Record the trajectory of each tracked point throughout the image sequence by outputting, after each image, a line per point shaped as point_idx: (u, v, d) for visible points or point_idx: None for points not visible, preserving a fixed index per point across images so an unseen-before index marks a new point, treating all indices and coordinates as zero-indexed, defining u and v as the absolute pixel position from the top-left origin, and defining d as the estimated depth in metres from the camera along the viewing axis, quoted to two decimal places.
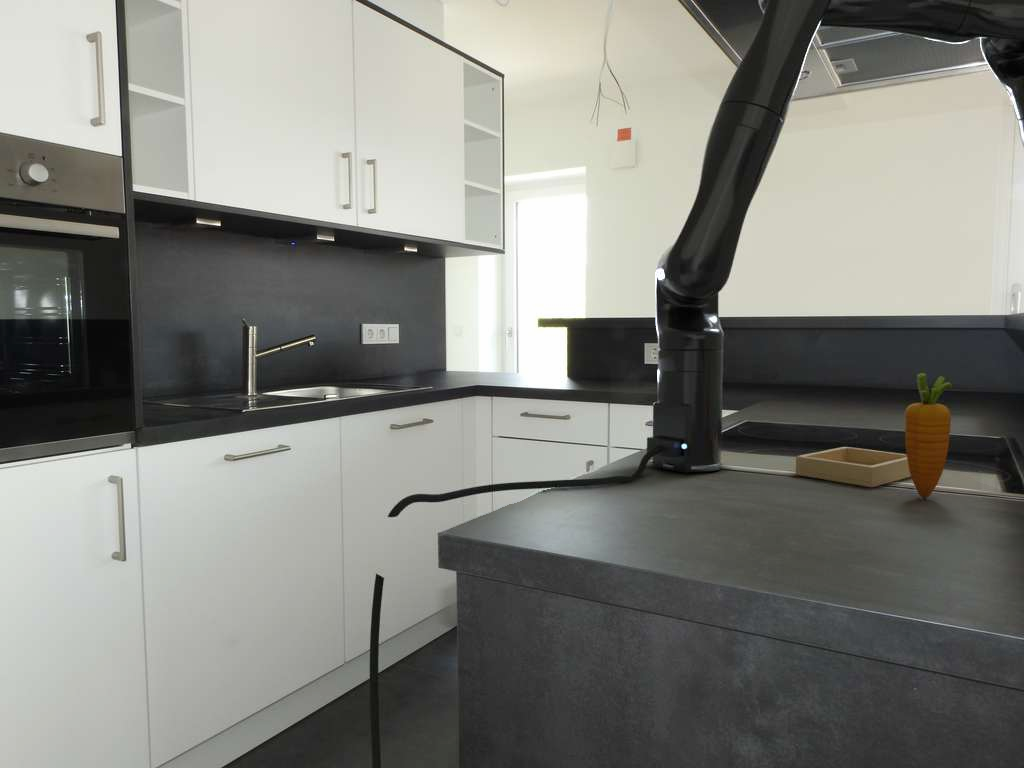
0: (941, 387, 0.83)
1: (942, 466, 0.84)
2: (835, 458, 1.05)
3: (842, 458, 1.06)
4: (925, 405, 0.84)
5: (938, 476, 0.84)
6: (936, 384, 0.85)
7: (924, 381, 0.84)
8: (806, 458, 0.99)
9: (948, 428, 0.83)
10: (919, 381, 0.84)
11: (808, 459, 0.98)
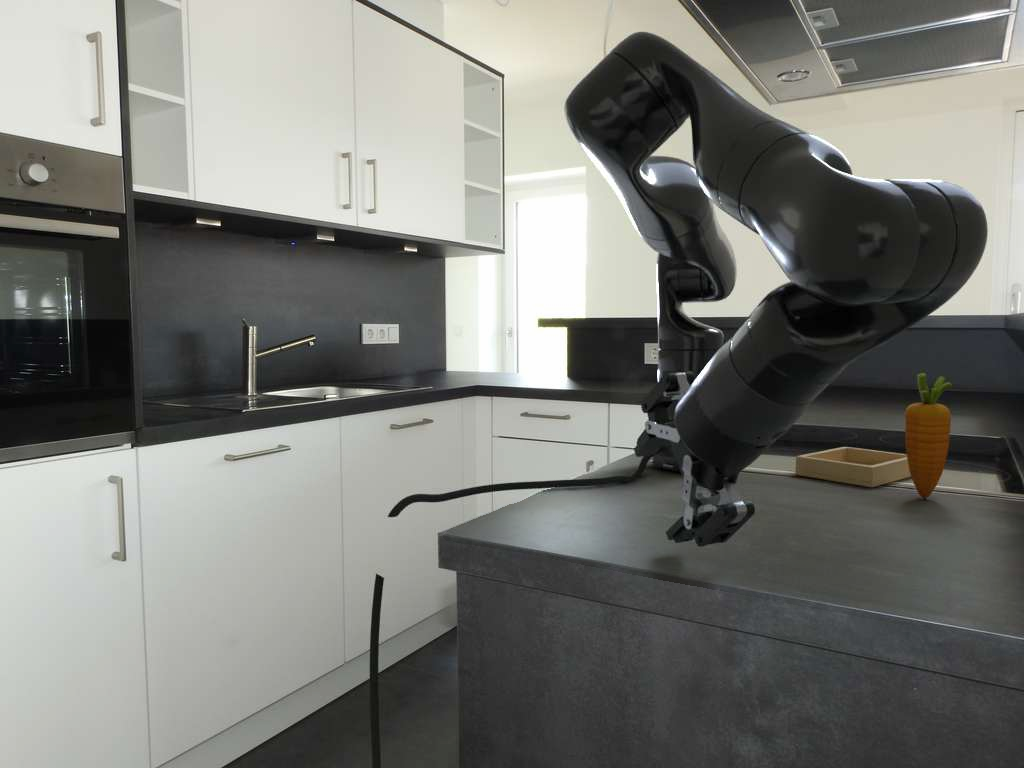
0: (941, 387, 0.83)
1: (942, 466, 0.84)
2: (835, 458, 1.05)
3: (842, 458, 1.06)
4: (925, 405, 0.84)
5: (938, 476, 0.84)
6: (936, 384, 0.85)
7: (924, 381, 0.84)
8: (806, 458, 0.99)
9: (948, 428, 0.83)
10: (919, 381, 0.84)
11: (808, 459, 0.98)
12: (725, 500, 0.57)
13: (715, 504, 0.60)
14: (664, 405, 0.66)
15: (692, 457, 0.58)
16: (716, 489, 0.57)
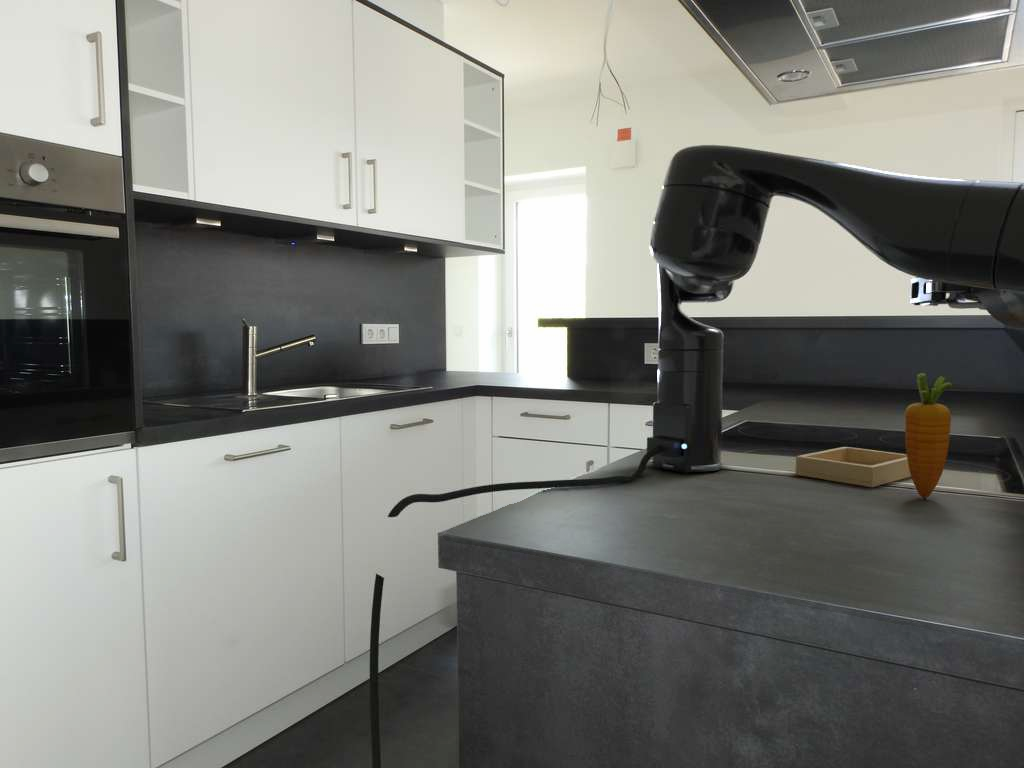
0: (941, 387, 0.83)
1: (942, 466, 0.84)
2: (835, 458, 1.05)
3: (842, 458, 1.06)
4: (925, 405, 0.84)
5: (938, 476, 0.84)
6: (936, 384, 0.85)
7: (924, 381, 0.84)
8: (806, 458, 0.99)
9: (948, 428, 0.83)
10: (919, 381, 0.84)
11: (808, 459, 0.98)
12: None
13: None
14: None
15: None
16: None
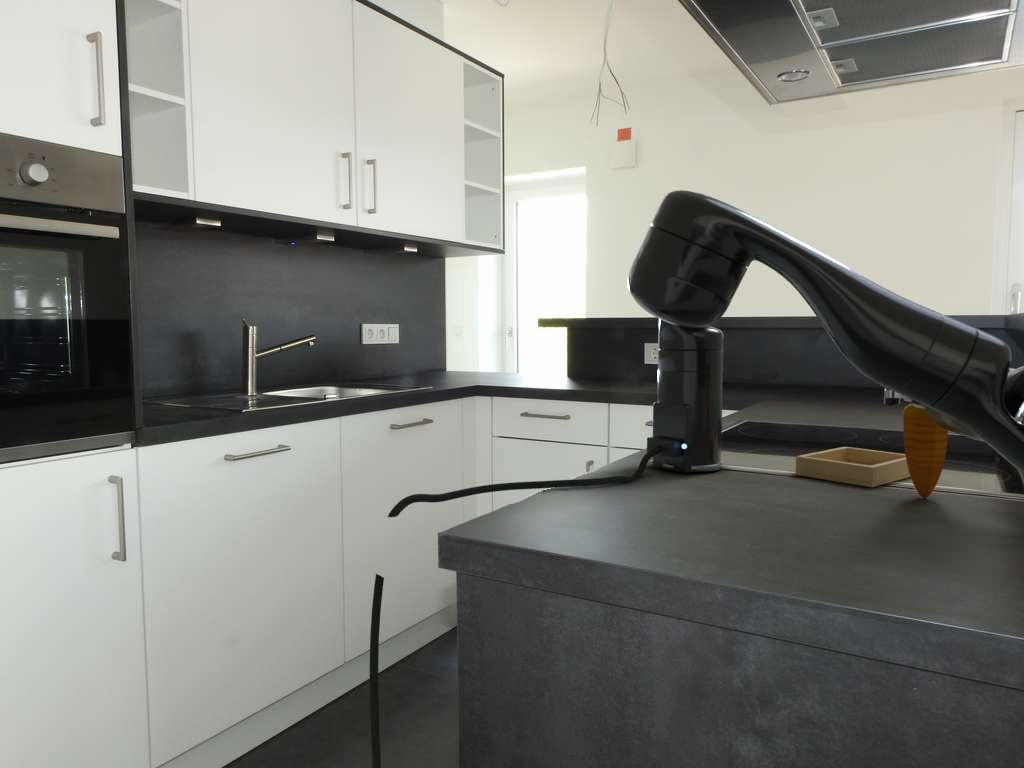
0: None
1: (941, 466, 0.84)
2: (835, 458, 1.05)
3: (842, 458, 1.06)
4: None
5: (937, 476, 0.84)
6: None
7: None
8: (806, 458, 0.99)
9: None
10: None
11: (808, 459, 0.98)
12: None
13: None
14: None
15: None
16: None
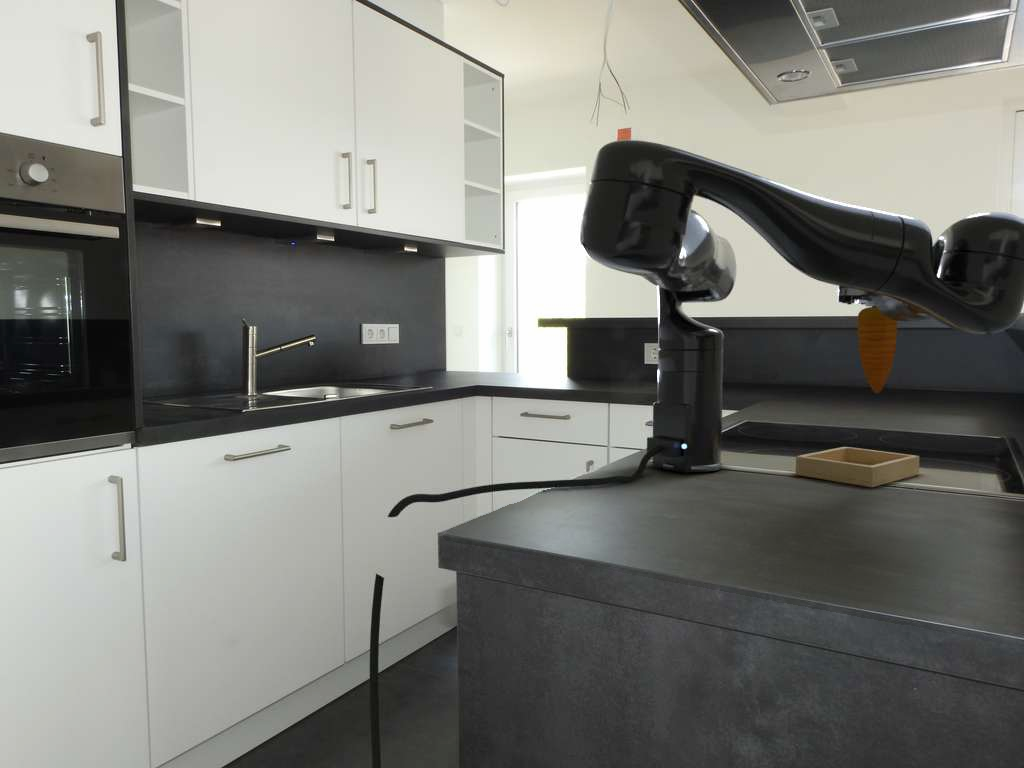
0: None
1: (891, 362, 0.93)
2: (835, 458, 1.05)
3: (842, 458, 1.06)
4: (874, 307, 0.93)
5: (887, 371, 0.93)
6: None
7: None
8: (806, 458, 0.99)
9: (895, 327, 0.93)
10: None
11: (808, 459, 0.98)
12: None
13: None
14: None
15: None
16: None
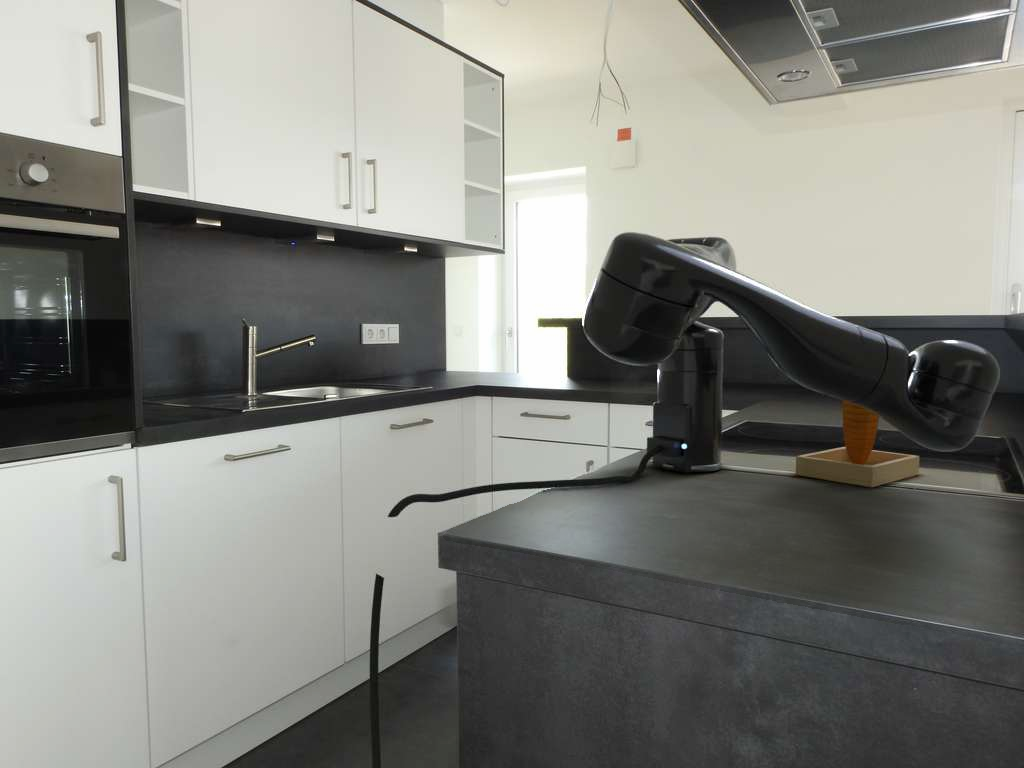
0: None
1: (872, 442, 0.98)
2: (835, 458, 1.05)
3: (842, 458, 1.06)
4: None
5: (869, 451, 0.98)
6: None
7: None
8: (806, 458, 0.99)
9: None
10: None
11: (808, 459, 0.98)
12: None
13: None
14: None
15: None
16: None
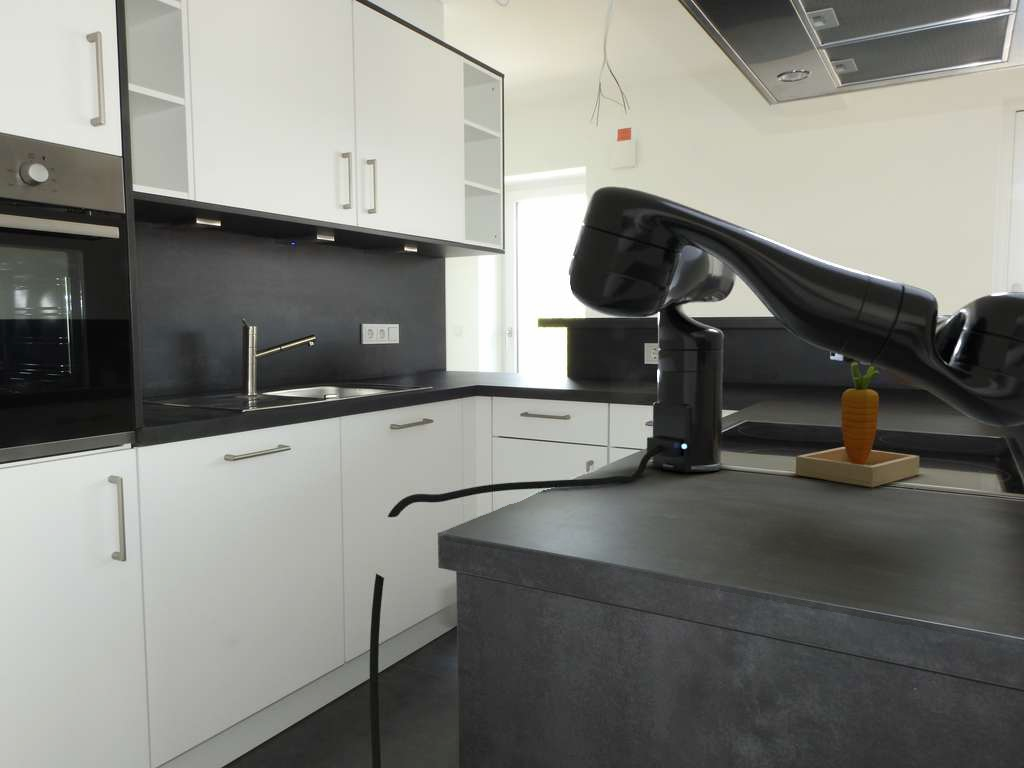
0: (871, 375, 0.98)
1: (872, 442, 0.98)
2: (835, 458, 1.05)
3: (842, 458, 1.06)
4: (857, 390, 0.98)
5: (868, 451, 0.98)
6: (867, 372, 0.99)
7: (856, 369, 0.98)
8: (806, 458, 0.99)
9: (876, 410, 0.97)
10: (852, 369, 0.98)
11: (808, 459, 0.98)
12: None
13: None
14: None
15: None
16: None
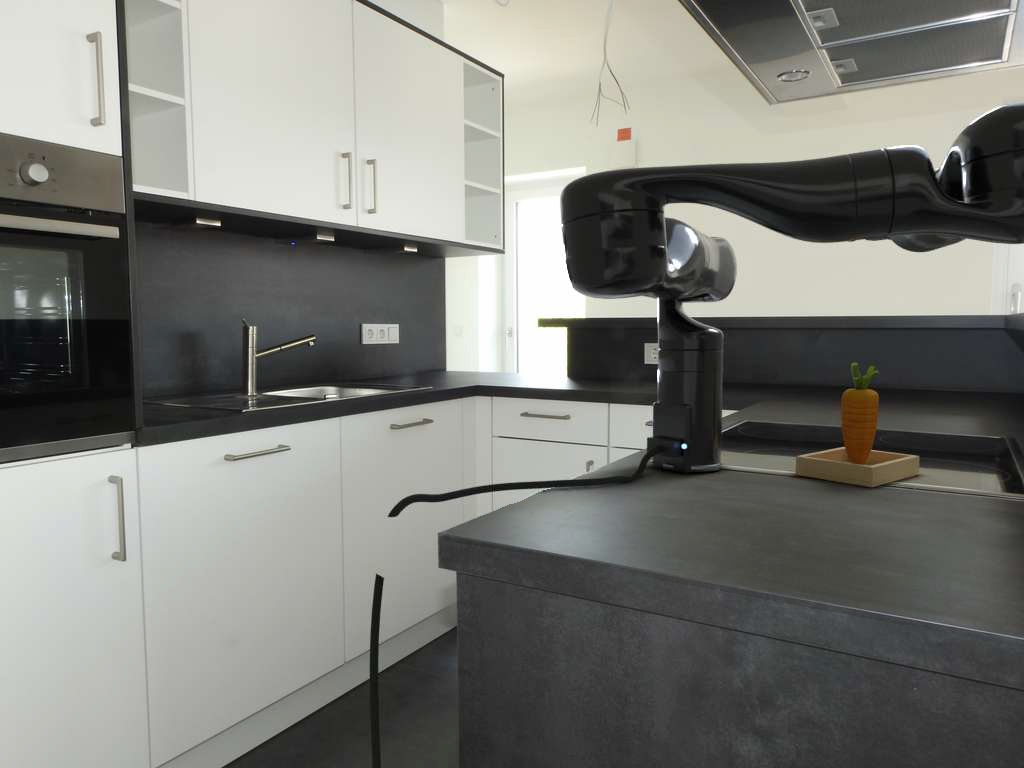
0: (871, 375, 0.98)
1: (872, 442, 0.98)
2: (835, 458, 1.05)
3: (842, 458, 1.06)
4: (857, 390, 0.98)
5: (868, 451, 0.98)
6: (867, 372, 0.99)
7: (856, 369, 0.98)
8: (806, 458, 0.99)
9: (876, 410, 0.97)
10: (852, 369, 0.98)
11: (808, 459, 0.98)
12: None
13: None
14: None
15: None
16: None
